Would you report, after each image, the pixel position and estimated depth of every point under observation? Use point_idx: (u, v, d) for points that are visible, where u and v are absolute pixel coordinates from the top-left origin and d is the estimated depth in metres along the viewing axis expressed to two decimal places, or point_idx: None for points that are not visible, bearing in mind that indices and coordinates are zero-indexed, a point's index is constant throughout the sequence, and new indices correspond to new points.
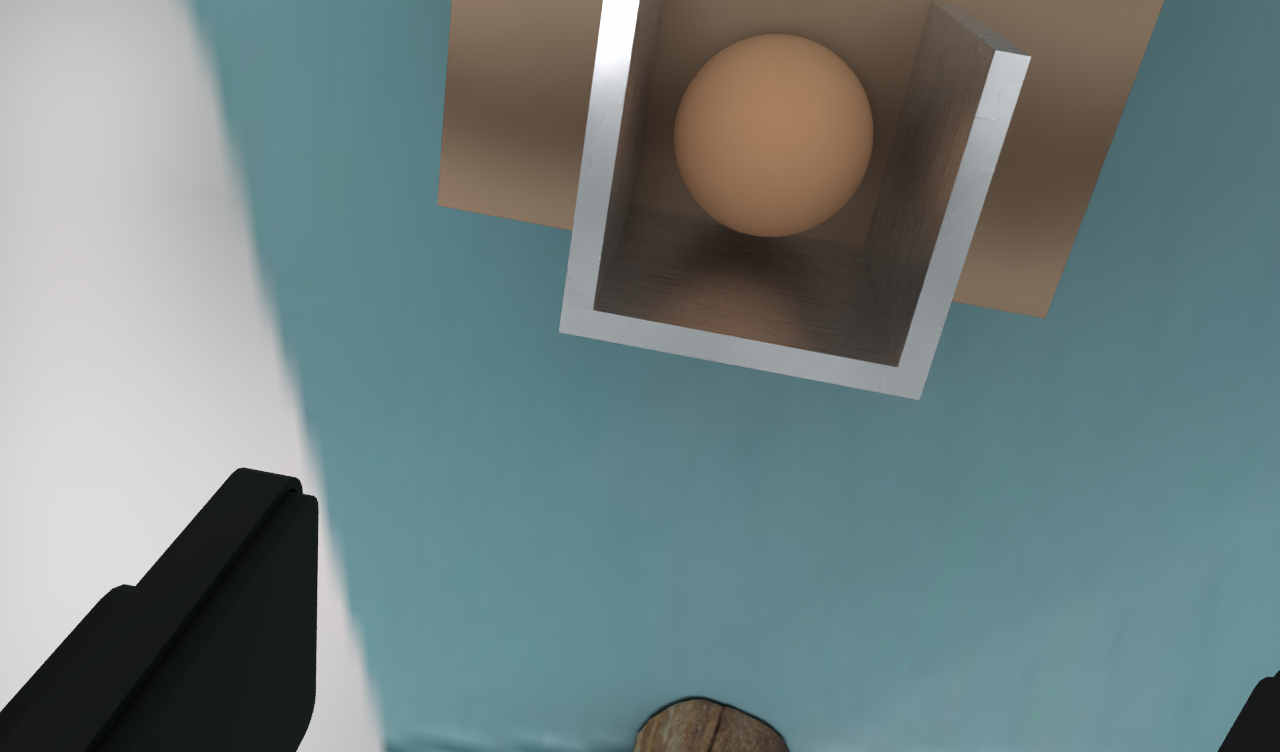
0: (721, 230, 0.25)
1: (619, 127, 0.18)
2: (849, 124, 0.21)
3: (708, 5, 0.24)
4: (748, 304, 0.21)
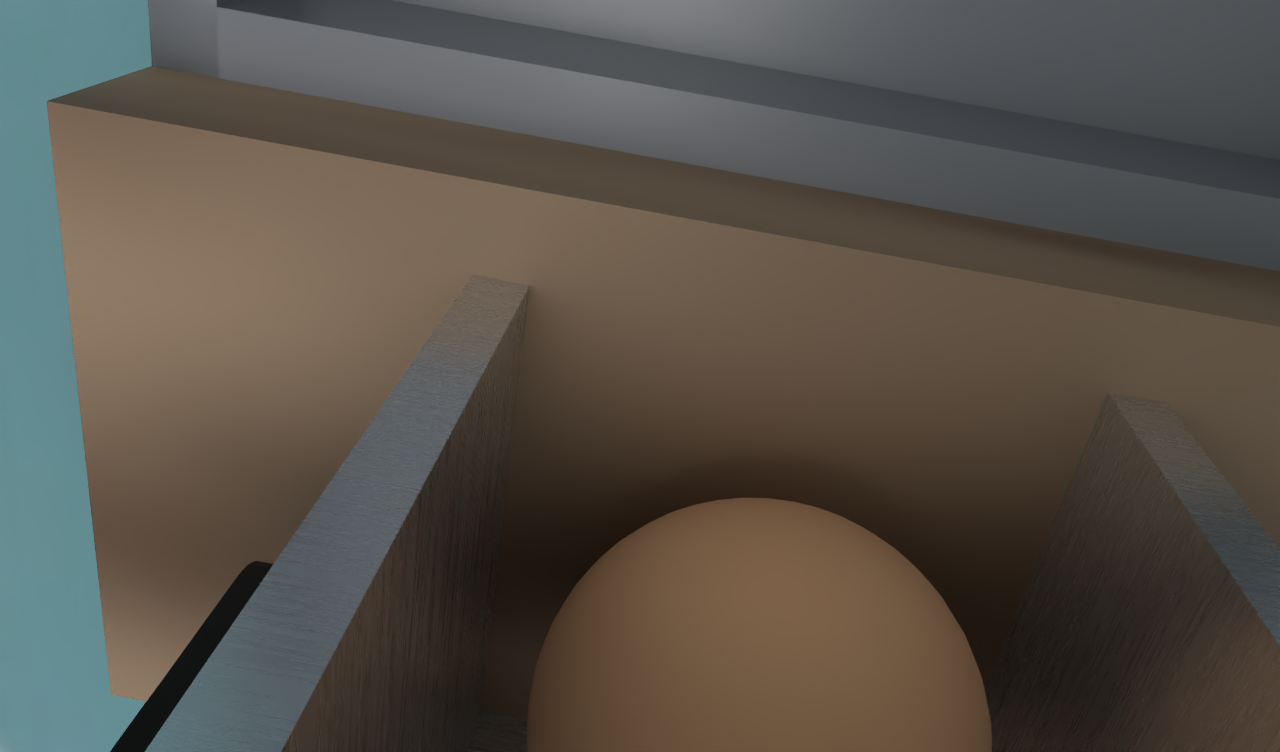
0: None
1: None
2: None
3: (615, 385, 0.11)
4: None
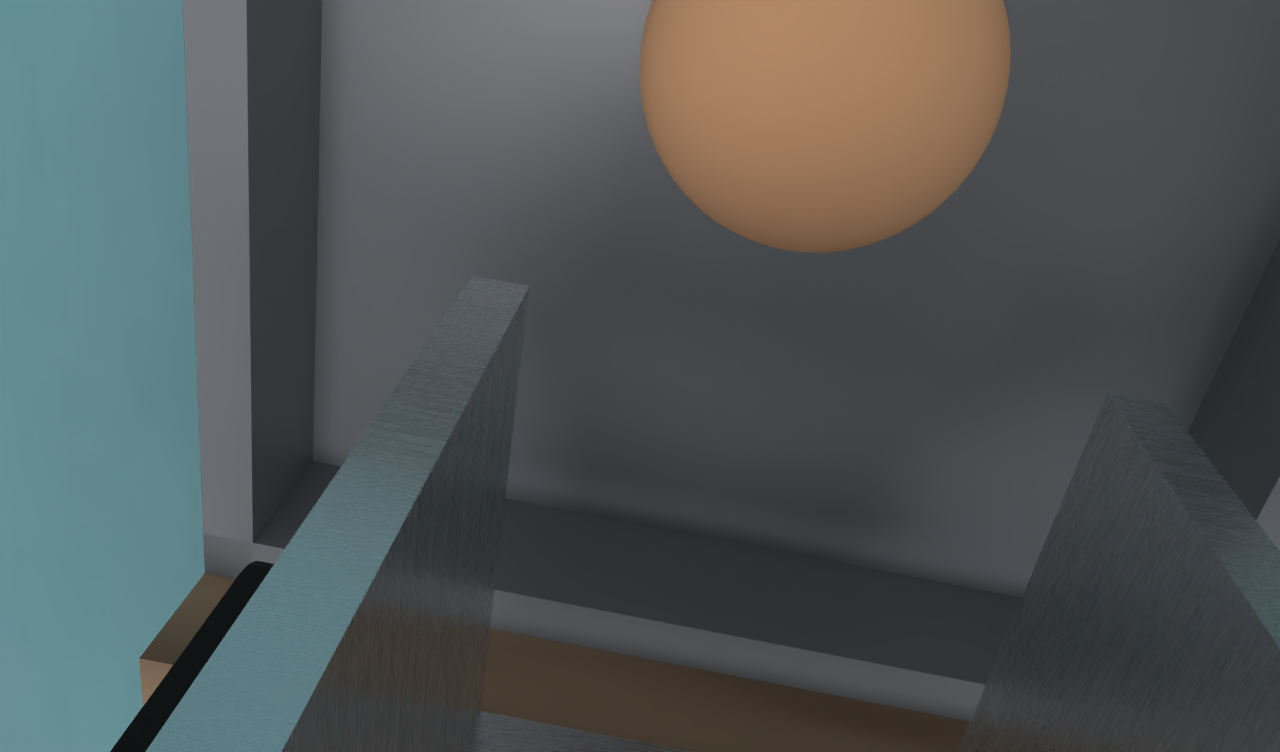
0: None
1: None
2: None
3: None
4: None
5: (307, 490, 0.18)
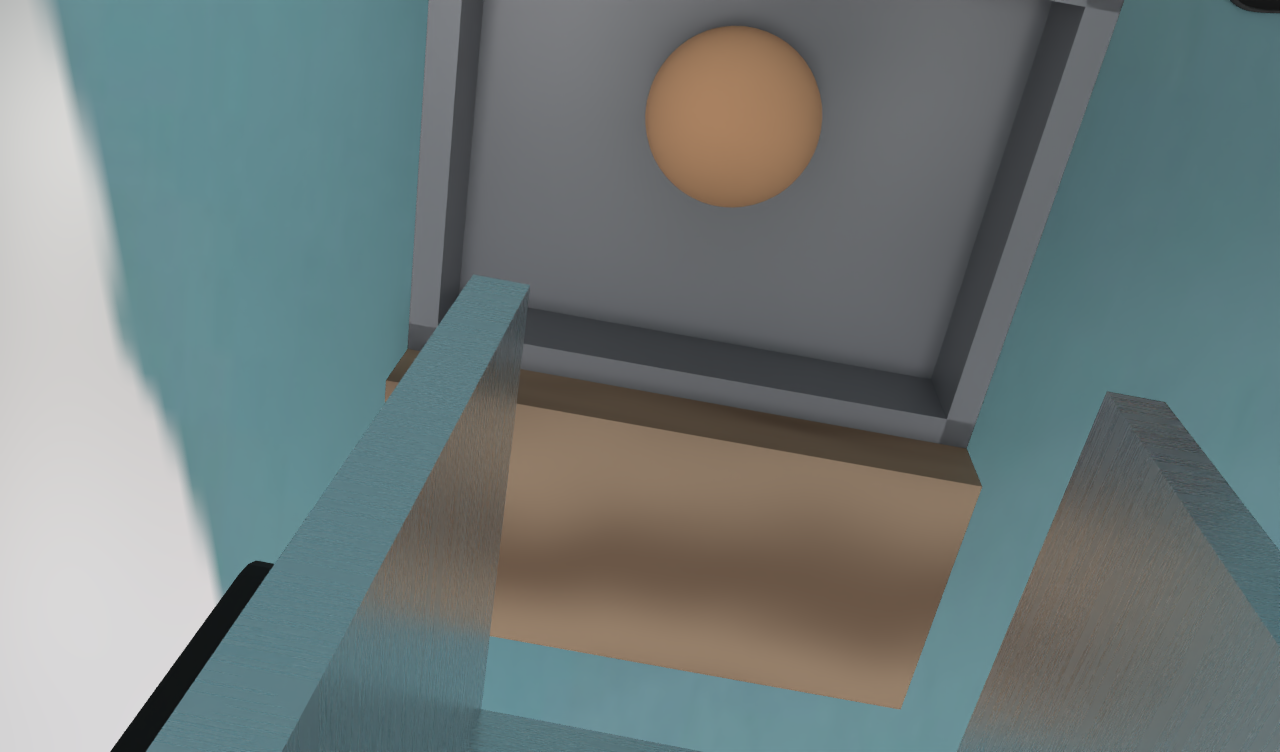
0: None
1: None
2: (796, 112, 0.24)
3: (600, 482, 0.28)
4: None
5: None
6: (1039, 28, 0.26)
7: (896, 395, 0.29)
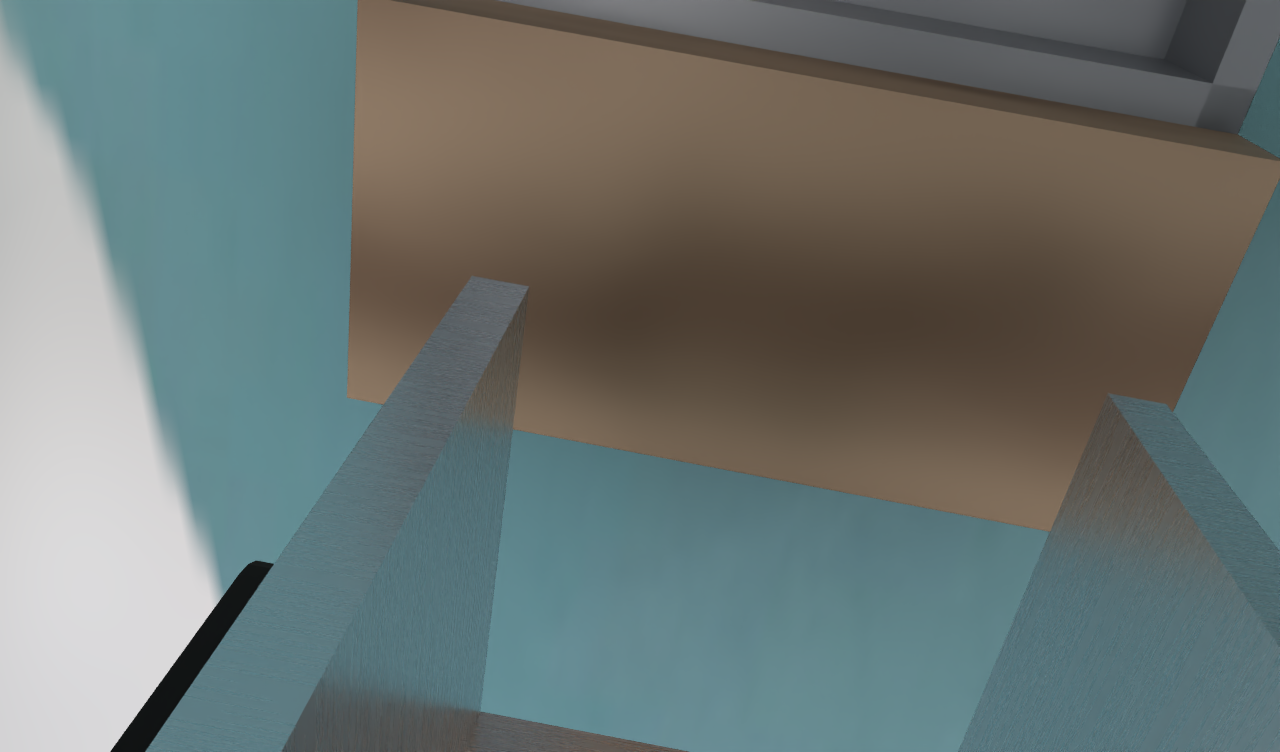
0: None
1: None
2: None
3: (684, 169, 0.18)
4: None
5: None
6: None
7: (1126, 61, 0.19)
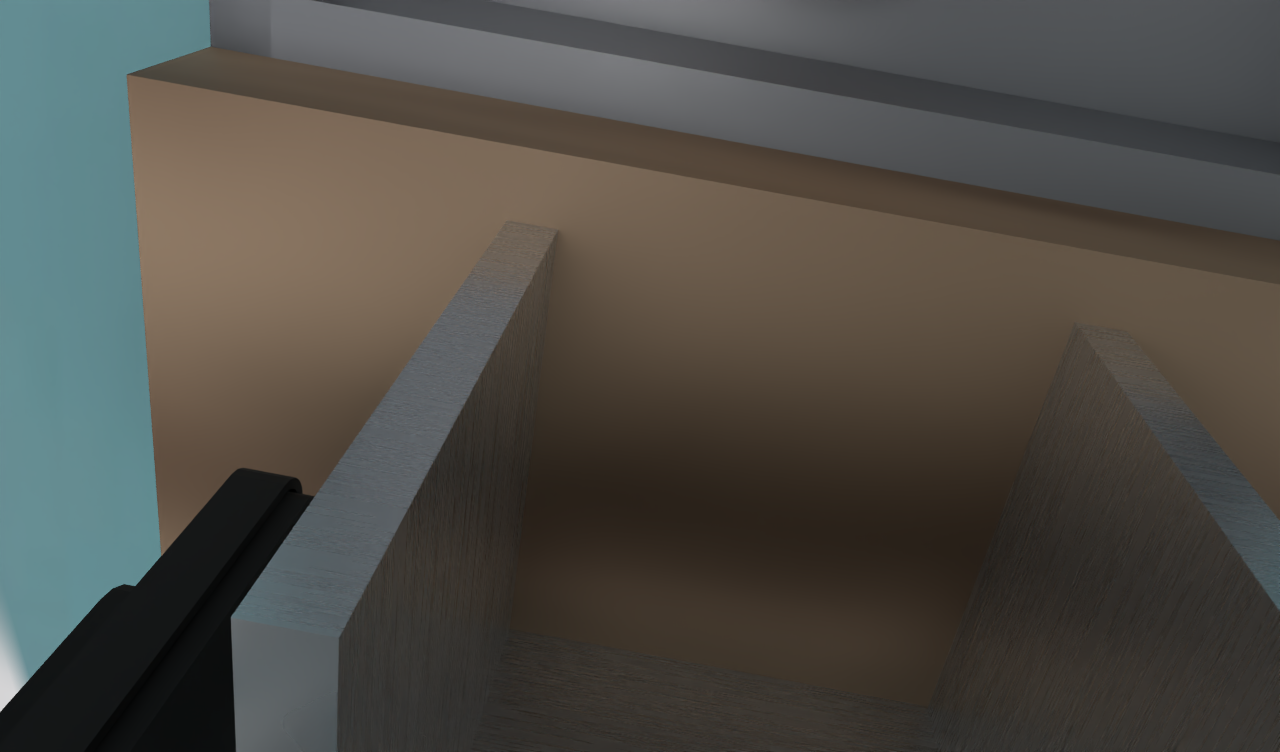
0: (668, 699, 0.14)
1: None
2: None
3: (629, 330, 0.12)
4: None
5: None
6: None
7: (1272, 160, 0.13)
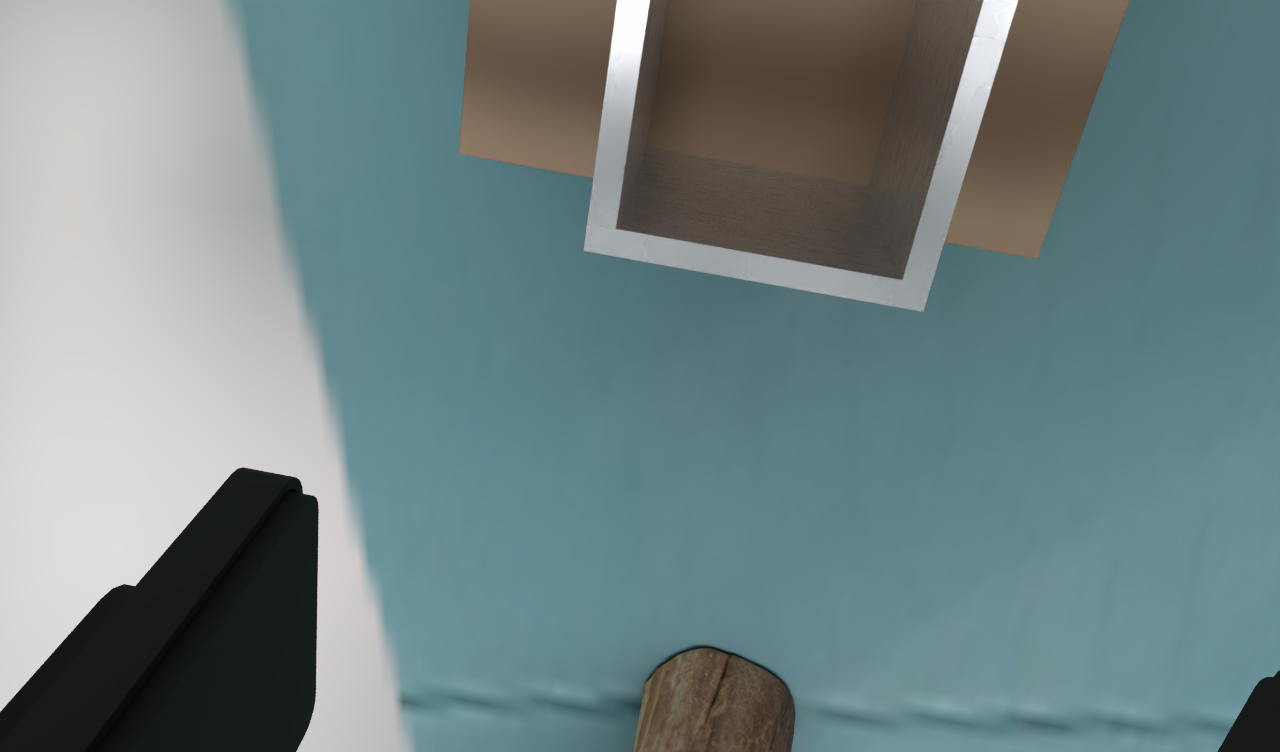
0: (732, 169, 0.27)
1: (641, 51, 0.20)
2: None
3: None
4: (760, 228, 0.23)
5: None
6: None
7: None
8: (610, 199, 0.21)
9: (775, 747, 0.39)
